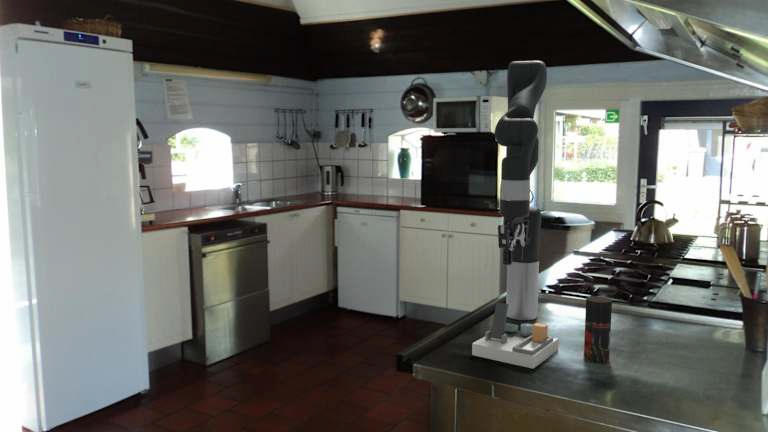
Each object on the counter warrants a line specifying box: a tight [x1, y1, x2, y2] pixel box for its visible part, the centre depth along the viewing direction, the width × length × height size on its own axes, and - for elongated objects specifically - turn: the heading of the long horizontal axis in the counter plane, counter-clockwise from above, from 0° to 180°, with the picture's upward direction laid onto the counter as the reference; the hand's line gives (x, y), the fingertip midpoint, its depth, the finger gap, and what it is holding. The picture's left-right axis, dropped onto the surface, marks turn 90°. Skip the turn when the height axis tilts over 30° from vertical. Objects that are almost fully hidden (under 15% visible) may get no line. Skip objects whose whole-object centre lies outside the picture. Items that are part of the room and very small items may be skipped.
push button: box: [519, 322, 533, 336], centre depth 164 cm, size 3×3×2 cm
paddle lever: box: [490, 301, 509, 340], centre depth 160 cm, size 1×3×9 cm, turn 55°
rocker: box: [504, 322, 519, 332], centre depth 166 cm, size 4×3×2 cm
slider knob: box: [532, 322, 549, 342], centre depth 159 cm, size 2×3×4 cm
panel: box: [471, 330, 559, 370], centre depth 160 cm, size 16×16×5 cm
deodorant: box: [583, 295, 613, 365], centre depth 154 cm, size 6×6×15 cm
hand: (512, 262), depth 164 cm, fingers open, 6 cm apart
